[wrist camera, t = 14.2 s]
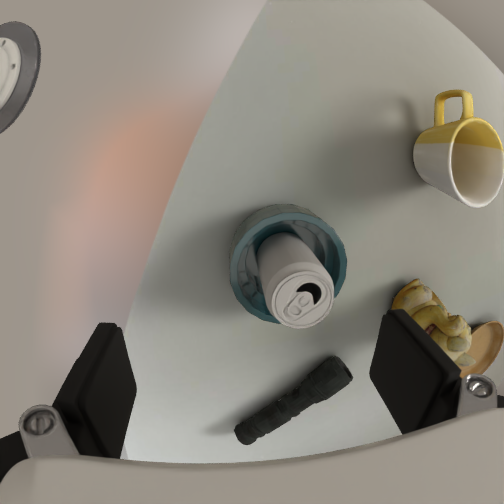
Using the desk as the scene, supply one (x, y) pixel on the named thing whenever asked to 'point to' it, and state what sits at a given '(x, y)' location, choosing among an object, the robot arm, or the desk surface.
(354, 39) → the desk surface
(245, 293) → the bowl
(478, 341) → the plant saucer
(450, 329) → the decorative figurine
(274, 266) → the beverage can
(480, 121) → the mug
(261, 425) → the flashlight
